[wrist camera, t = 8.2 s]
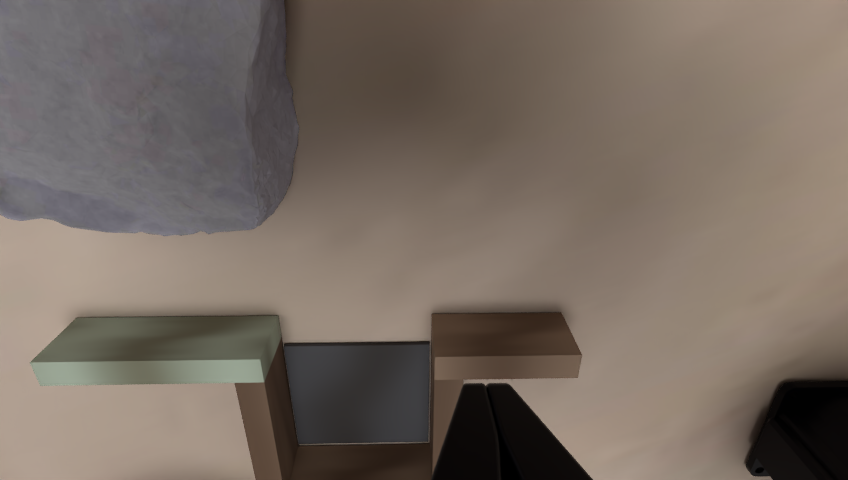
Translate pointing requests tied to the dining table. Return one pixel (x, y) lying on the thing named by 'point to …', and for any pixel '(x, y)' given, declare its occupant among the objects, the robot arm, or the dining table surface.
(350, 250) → the dining table surface
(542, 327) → the channel
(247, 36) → the stone block
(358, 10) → the dining table surface
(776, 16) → the dining table surface
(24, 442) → the dining table surface
